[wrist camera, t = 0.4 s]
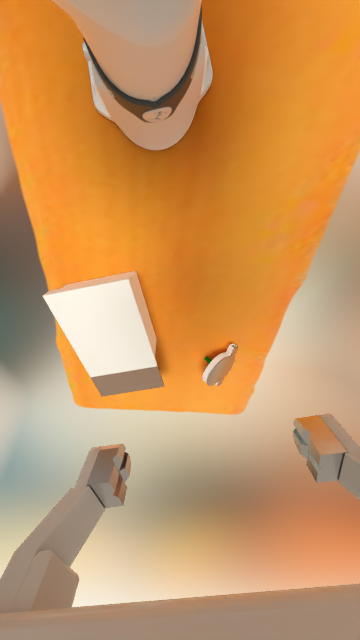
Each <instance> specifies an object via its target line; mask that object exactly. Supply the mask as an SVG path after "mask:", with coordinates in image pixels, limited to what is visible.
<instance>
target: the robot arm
mask: <svg viewBox="0 0 360 640" xmlns="http://www.w3.org/2000/svg"><path fill="white" fill-rule="evenodd" d="M51 1H52V2H53V3H55V4H56V5H57V6H58V7H59V8H61V9H62V10H63V11H64V12H65V13H67V14H68V15H69V16H70V17H71V18H72V20H73V21H74V23H75V24H76V26H77V27H78V29H79V30H80V32H81V34H82V35H83V38H84V41H85V43H82V46H83V52H84V55H85V58H86V60H87V61H88V67H89V74H90V81H91V88H92V94H93V101H94V105H95V107H96V109H97V111H98V112H99V113H100V114H101V115H103V116H104V117H106V118H107V119H109V120H111V121H113V122H115V123H116V124H117V125H118V127H119V128H120V129H121V130H122V131H123V133H124V134H125V135H126V136H127V137H128V138H129V139H130V140H131V141H132V142H134V143H135V144H137V145H138V146H140V147H143V148H145V149H149V150H163V149H166V148H169V147H171V146H173V145H174V144H176V143H177V142H178V141H179V140H180V139H181V138H182V137H183V136H184V135H185V133H186V132H187V130H188V129H189V127H190V125H191V123H192V120H193V118H194V115H195V112H196V109H197V106H198V104H199V101H200V100H201V99H202V98H203V96H204V95H205V94H206V92H207V91H208V89H209V88H210V86H211V83H212V78H213V71H212V66H211V61H210V56H209V52H208V47H207V42H206V37H205V32H204V27H203V22H202V6H201V2H202V0H51ZM294 426H295V427H296V428H295V430H294V431H293V437H294V441H295V444H296V446H297V448H298V450H299V452H300V454H301V455H303V456H304V457H305V458H307V466H308V468H309V470H310V472H311V473H312V475H313V477H314V479H315V481H316V482H327V481H337V480H339V481H338V482H339V483H340V484H341V485H343V486H344V487H345V488H346V489H347V490H348V491H350V492H351V493H352V494H353V495H354V496H356V497H357V498H358V499H359V500H360V447H359V446H358V444H357V443H356V442H355V441H354V440H353V439H352V437H351V436H350V435H349V434H348V433H347V432H346V430H345V429H344V428H343V427H342V426H341V425H340V423H339V422H338V421H337V420H336V419H335V418H334V416H332V415H331V414H325V415H319V416H317V415H316V416H310V417H303V418H297V419H295V420H294ZM130 468H131V461H130V456H129V454H128V453H126V452H125V446H124V445H123V444H117V445H110V446H101V447H94V448H92V449H91V450H90V451H89V453H88V455H87V458H86V461H85V463H84V465H83V468H82V470H81V473H80V475H79V477H78V480H77V482H76V485H75V487H74V488H71V489H70V490H69V491H68V492H67V494H66V495H65V496H64V497H63V498H62V499H61V500H60V501H59V503H58V504H57V505H56V506H55V507H54V508H53V509H52V510H51V512H50V513H49V514H48V515H47V516H46V517H45V518H44V519H43V521H42V522H41V523H40V524H39V525H38V526H37V527H36V528H35V530H34V531H33V532H32V533H31V534H30V535H29V536H28V537H27V539H26V540H25V541H24V542H23V543H22V544H21V546H20V547H19V548H18V549H17V550H16V551H15V552H14V554H13V556H12V558H11V560H10V562H9V564H8V566H7V567H6V569H5V571H4V573H3V575H2V577H1V579H0V640H360V584H351V585H339V586H328V587H315V588H303V589H291V590H280V591H279V590H278V591H266V592H254V593H242V594H230V595H217V596H205V597H193V598H182V599H169V600H158V601H145V602H132V603H120V604H109V605H97V606H84V607H72V604H73V600H74V596H75V592H76V589H77V585H78V582H79V577H78V575H77V574H76V573H75V572H74V571H73V570H72V569H71V568H70V566H71V564H72V563H73V561H74V559H75V558H76V556H77V555H78V553H79V551H80V550H81V548H82V546H83V545H84V543H85V542H86V540H87V538H88V537H89V535H90V533H91V532H92V530H93V528H94V527H95V525H96V524H97V522H98V520H99V519H100V517H101V516H102V514H103V512H104V511H105V508H110V507H116V506H123V504H124V500H125V495H126V489H127V486H126V484H125V481H126V480H127V478H128V477H129V475H130ZM71 607H72V608H71Z"/></svg>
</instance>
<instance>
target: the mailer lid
mask: <svg viewBox="0 0 360 640" xmlns="http://www.w3.org/2000/svg"><path fill="white" fill-rule="evenodd" d="M130 279H131V275H128V276H123V277H118V278H113V279H108V280H102V281H97V282H92V283H87V284H82V285H77V286H72V287H67V288H62V289H56V290H51V291H49V292H47V293H46V294H44V295H43V297H44V299H45V301H46V303H47V304H48V306H49V308H50V309H51V311H52V313H53V315H54V316H55V318H56V320H57V321H58V323H59V325H60V326H61V328H62V330H63V331H64V333H65V335H66V337H67V338H68V340H69V342H70V343H71V345H72V347H73V348H74V350H75V352H76V353H77V355H78V357H79V359H80V360H81V362H82V364H83V365H84V367H85V369H86V370H87V372H88V374H89V375H90V377H91V379H92V381H93V382H94V384H95V386H96V387H97V389H98V391H99V392H100V394H101V396H108V395H114V394H120V393H127V392H133V391H139V390H145V389H152V388H158V387H164V383H163V380H162V377H161V374H160V371H159V368H158V365H157V362H156V359H155V356H154V353H153V350H152V347H151V344H150V341H149V338H148V335H147V332H146V329H145V325H144V322H143V319H142V316H141V313H140V310H139V307H138V304H137V301H136V298H135V295H134V292H133V289H132V286H131V283H130Z"/></svg>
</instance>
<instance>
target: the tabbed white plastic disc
mask: <svg viewBox="0 0 360 640" xmlns="http://www.w3.org/2000/svg"><path fill="white" fill-rule="evenodd" d="M237 349H238V346H236V345H235V344H234V343H233V344H230V345H229V347H228V349H227V351H226V352H224V353H221V354H219V355H218V356H217V357H215V358H214V359H213V360H210V359H209V358H208V357H205V360H206V361H207V362H208V363H209V365H208V366H207V368H206V369H205V371H204V373H203V380H204V381H205V382H206V384H207V385H209V386H211V385H214V384H216V385H217V386H219V385H220V384H221V383H222V381H223V379H224V377H225V376H226V375H227V373H228V372H229V371H230V370H231V368H232V365H233V363H234V362H235V353H236V351H237Z"/></svg>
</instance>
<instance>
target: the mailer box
mask: <svg viewBox="0 0 360 640" xmlns="http://www.w3.org/2000/svg"><path fill="white" fill-rule="evenodd" d="M128 275H131V279H130V283H131V286H132V289H133V292H134V295H135V298H136V301H137V304H138V307H139V310H140V313H141V316H142V319H143V322H144V325H145V329H146V332H147V335H148V338H149V341H150V344H151V347H152V350H153V353H154V356H155V351H156V342H157V339H156V335H155V332H154V329H153V325H152V322H151V319H150V316H149V312H148V309H147V306H146V302H145V299H144V296H143V293H142V289H141V286H140V283H139V279H138V276H137V273H136V271H132V272H127V273H122V274H117V275H112V276H107V277H102V278H97V279H92V280H86V281H81V282H76V283H71V284H66V285H65V286H64V287H62V288H67V287H72V286H77V285H82V284H87V283H92V282H97V281H102V280H108V279H113V278H118V277H123V276H128ZM62 288H61V289H62Z"/></svg>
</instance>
